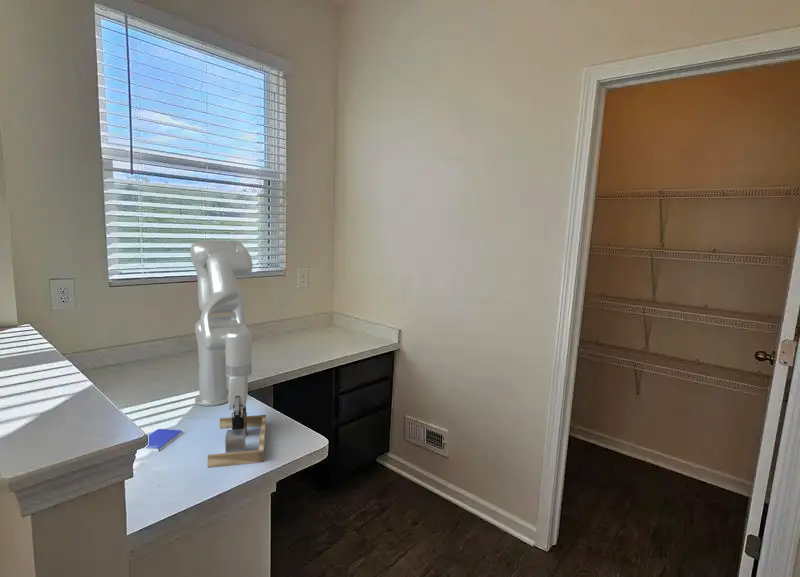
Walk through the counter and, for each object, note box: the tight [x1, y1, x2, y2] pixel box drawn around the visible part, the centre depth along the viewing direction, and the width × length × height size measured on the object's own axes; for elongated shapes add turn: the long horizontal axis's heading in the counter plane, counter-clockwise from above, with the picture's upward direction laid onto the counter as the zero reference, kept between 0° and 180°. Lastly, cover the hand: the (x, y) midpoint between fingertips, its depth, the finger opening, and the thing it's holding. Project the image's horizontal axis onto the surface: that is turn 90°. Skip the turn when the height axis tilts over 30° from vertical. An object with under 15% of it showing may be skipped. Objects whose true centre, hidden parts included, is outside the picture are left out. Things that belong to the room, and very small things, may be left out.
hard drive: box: [140, 428, 183, 452], centre depth 134 cm, size 2×8×12 cm
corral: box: [207, 414, 267, 468], centre depth 134 cm, size 26×14×3 cm, turn 15°
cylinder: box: [231, 410, 248, 436], centre depth 139 cm, size 4×4×7 cm
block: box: [224, 429, 247, 453], centre depth 128 cm, size 4×5×6 cm
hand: (239, 423), depth 139 cm, fingers open, 9 cm apart
